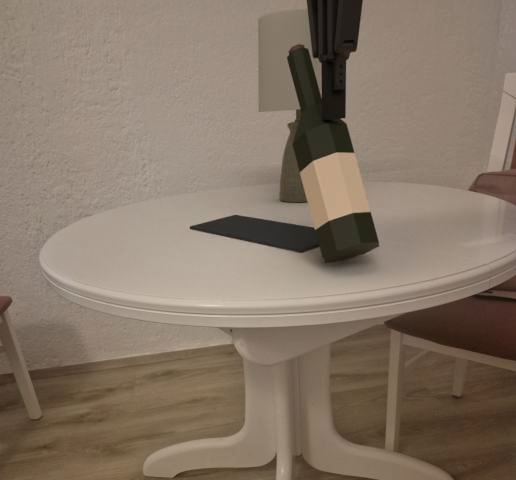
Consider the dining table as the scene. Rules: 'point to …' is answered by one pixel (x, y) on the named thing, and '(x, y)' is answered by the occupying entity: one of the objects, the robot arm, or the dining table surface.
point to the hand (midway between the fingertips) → (333, 118)
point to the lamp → (284, 83)
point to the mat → (263, 232)
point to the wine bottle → (329, 171)
